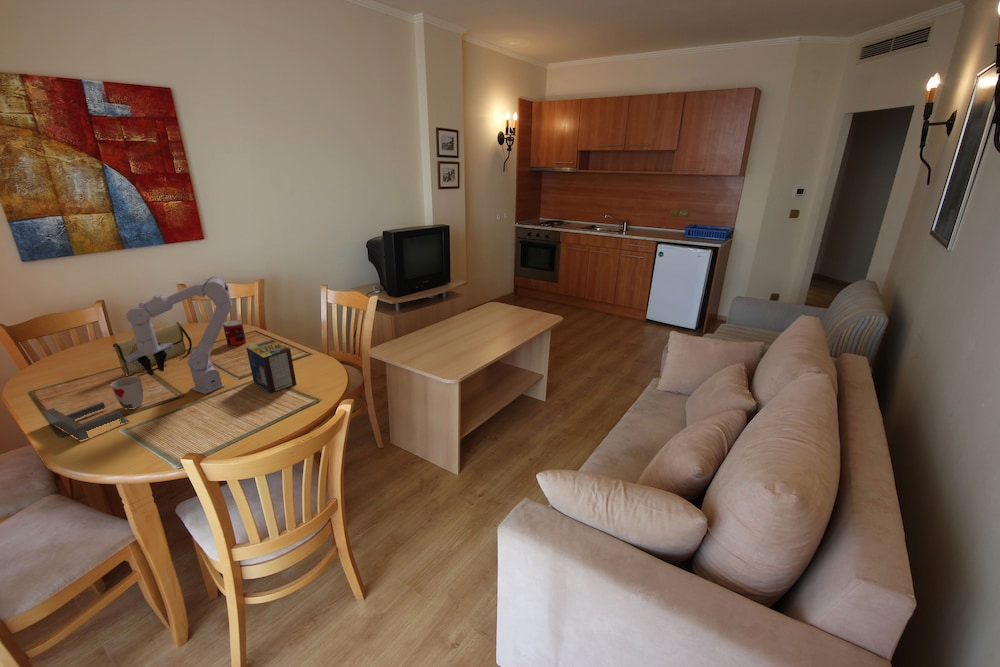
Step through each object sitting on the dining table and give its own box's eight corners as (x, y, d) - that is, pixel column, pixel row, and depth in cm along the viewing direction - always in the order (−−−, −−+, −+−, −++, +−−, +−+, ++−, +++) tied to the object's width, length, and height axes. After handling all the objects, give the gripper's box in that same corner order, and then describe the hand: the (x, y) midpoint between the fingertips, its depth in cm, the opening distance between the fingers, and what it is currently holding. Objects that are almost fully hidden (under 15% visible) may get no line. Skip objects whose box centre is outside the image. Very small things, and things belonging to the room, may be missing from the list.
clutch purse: (132, 380, 174) (121, 346, 168) (119, 378, 175) (108, 344, 170) (198, 352, 200) (190, 322, 195) (186, 350, 202) (178, 320, 197)
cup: (114, 408, 154) (105, 383, 150) (141, 398, 160) (133, 374, 157) (126, 414, 150) (117, 389, 147) (152, 404, 157) (144, 379, 153)
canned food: (229, 341, 213) (225, 320, 209) (248, 340, 215) (243, 319, 211) (225, 347, 206) (220, 326, 202) (244, 346, 208) (239, 324, 204)
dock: (130, 422, 146) (125, 409, 144) (81, 442, 135) (76, 429, 133) (98, 406, 155) (93, 393, 153) (50, 423, 144) (44, 410, 142)
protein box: (279, 373, 182) (272, 339, 176) (297, 384, 172) (290, 348, 167) (252, 382, 174) (245, 346, 168) (270, 394, 165) (263, 357, 159)
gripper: (162, 330, 163) (171, 363, 167) (116, 343, 150) (127, 377, 155) (172, 333, 160) (182, 366, 164) (126, 347, 147) (138, 382, 152)
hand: (156, 372), depth 160 cm, fingers open, 3 cm apart
